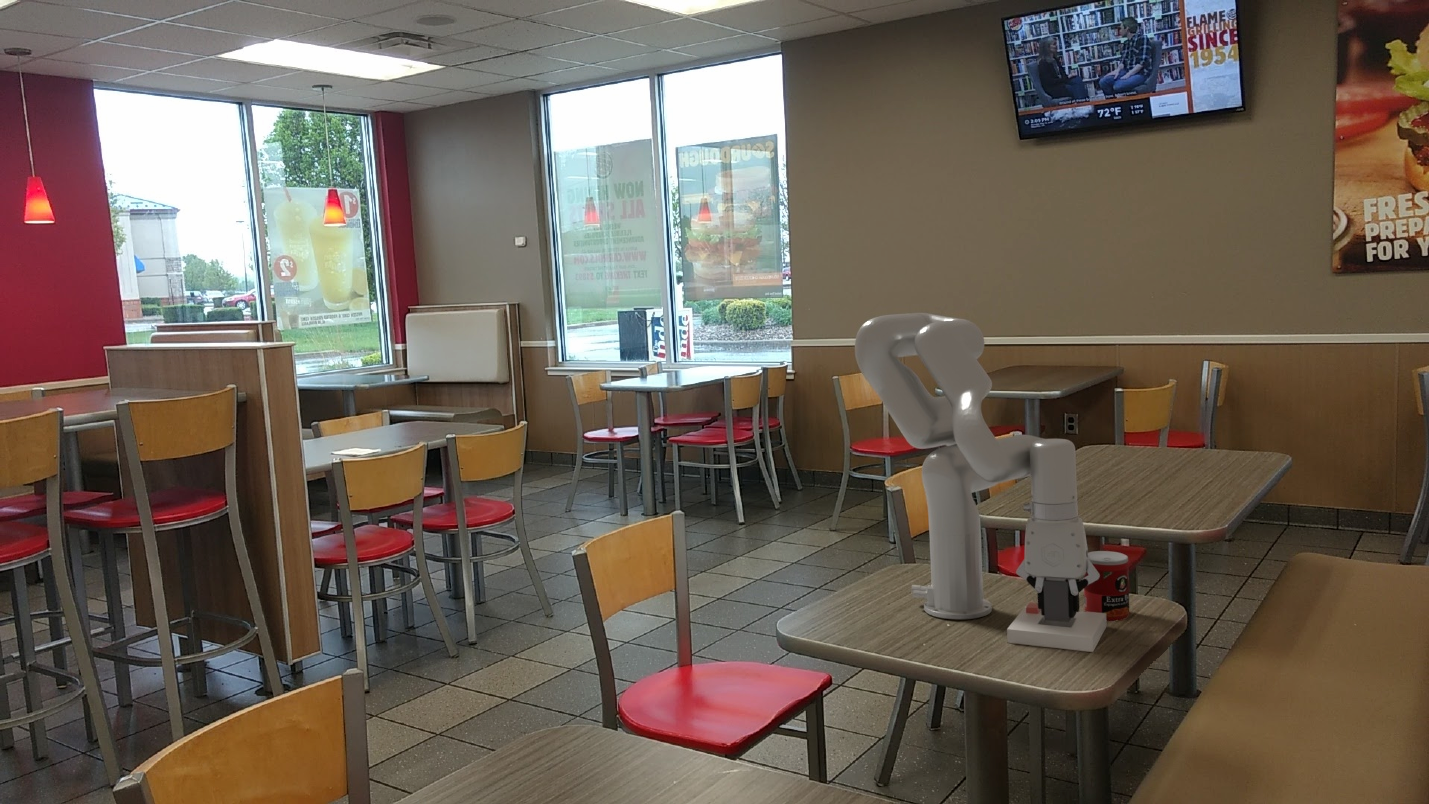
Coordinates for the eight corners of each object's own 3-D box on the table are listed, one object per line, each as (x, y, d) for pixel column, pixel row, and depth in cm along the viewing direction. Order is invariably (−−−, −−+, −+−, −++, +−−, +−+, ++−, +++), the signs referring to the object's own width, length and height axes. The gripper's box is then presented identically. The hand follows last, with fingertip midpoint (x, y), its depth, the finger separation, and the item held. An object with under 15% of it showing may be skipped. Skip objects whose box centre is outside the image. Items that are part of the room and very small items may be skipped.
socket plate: (1007, 642, 178) (1006, 623, 178) (1026, 618, 190) (1025, 600, 190) (1092, 652, 171) (1092, 632, 171) (1106, 626, 183) (1106, 607, 183)
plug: (1044, 620, 180) (1043, 576, 179) (1049, 613, 183) (1047, 570, 182) (1068, 622, 178) (1067, 577, 177) (1073, 615, 181) (1071, 571, 180)
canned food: (1107, 624, 185) (1105, 563, 184) (1075, 612, 192) (1073, 554, 191) (1139, 616, 188) (1138, 557, 187) (1106, 605, 195) (1105, 548, 194)
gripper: (1000, 513, 180) (1005, 616, 181) (1102, 517, 171) (1106, 625, 173) (1010, 505, 186) (1015, 604, 188) (1109, 508, 178) (1113, 612, 179)
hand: (1058, 613), depth 180 cm, fingers closed on plug, 4 cm apart
